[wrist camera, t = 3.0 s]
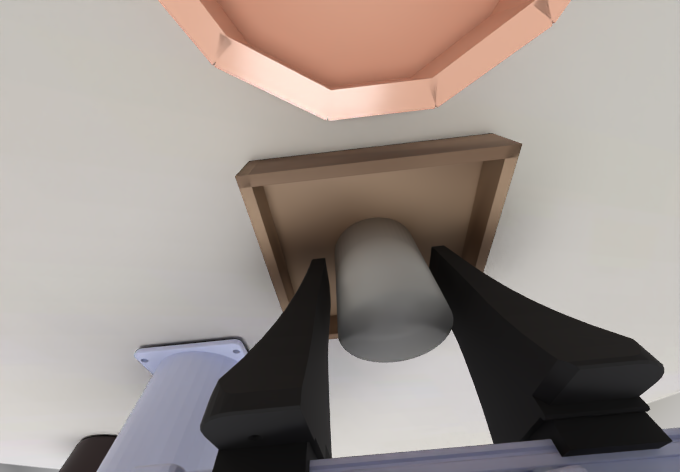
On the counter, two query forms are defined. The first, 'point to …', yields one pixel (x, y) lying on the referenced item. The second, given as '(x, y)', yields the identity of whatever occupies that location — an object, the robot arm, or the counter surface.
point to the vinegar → (88, 454)
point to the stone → (387, 294)
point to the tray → (377, 201)
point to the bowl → (361, 47)
